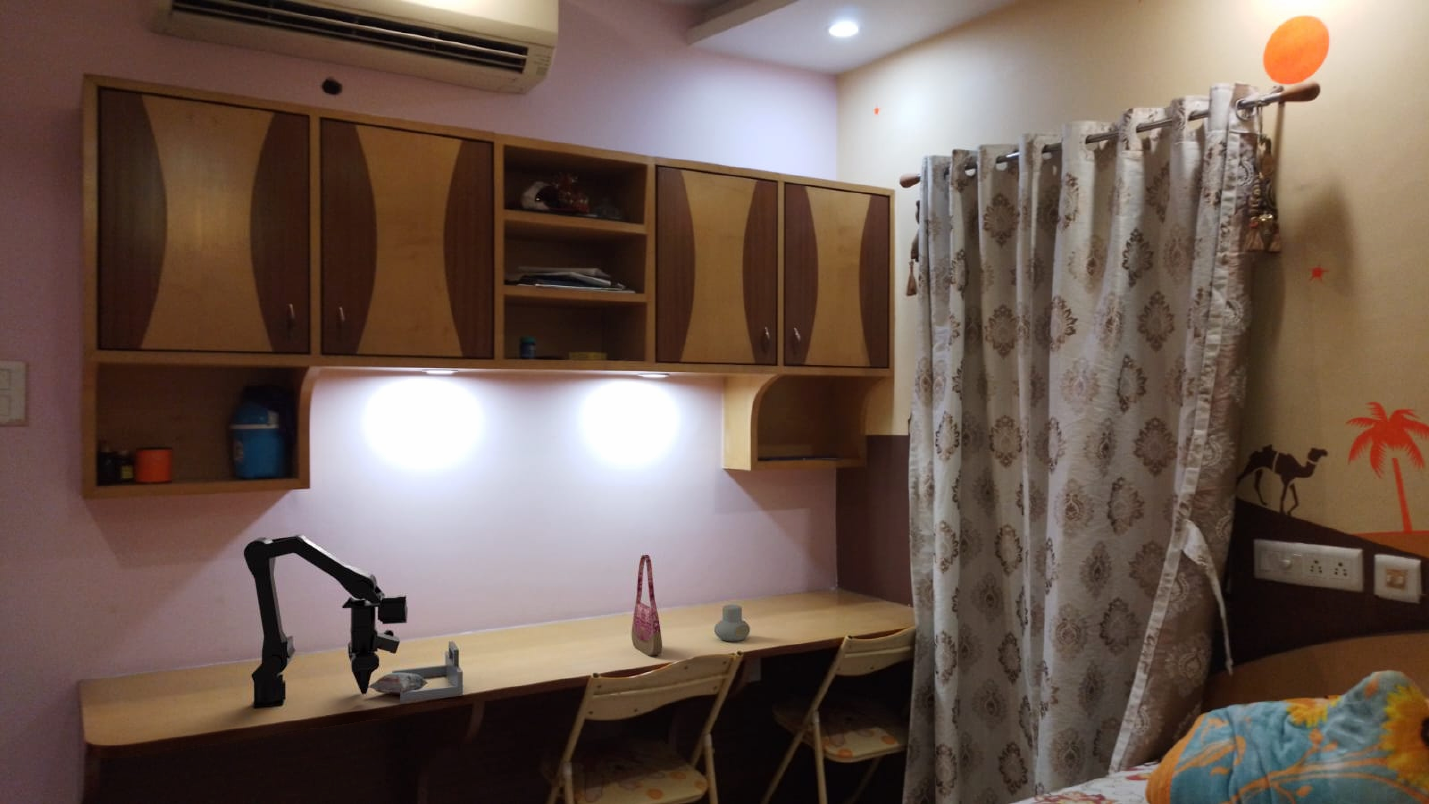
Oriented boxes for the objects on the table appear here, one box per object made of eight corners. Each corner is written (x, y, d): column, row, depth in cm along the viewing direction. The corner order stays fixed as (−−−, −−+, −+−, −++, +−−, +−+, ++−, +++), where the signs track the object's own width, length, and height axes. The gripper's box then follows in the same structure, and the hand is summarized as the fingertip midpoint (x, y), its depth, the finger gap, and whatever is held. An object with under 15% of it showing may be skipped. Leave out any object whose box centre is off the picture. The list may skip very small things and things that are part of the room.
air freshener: (734, 634, 298) (734, 602, 298) (754, 638, 292) (754, 606, 292) (709, 640, 290) (709, 607, 290) (729, 645, 284) (729, 611, 284)
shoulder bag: (630, 645, 284) (631, 551, 284) (640, 644, 285) (640, 550, 285) (653, 659, 269) (653, 559, 269) (662, 657, 270) (662, 559, 270)
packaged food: (404, 698, 229) (405, 676, 230) (366, 695, 233) (366, 674, 234) (428, 692, 237) (428, 671, 238) (390, 689, 241) (391, 669, 242)
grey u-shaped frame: (400, 703, 229) (400, 662, 229) (392, 680, 248) (392, 641, 248) (462, 696, 235) (462, 655, 235) (449, 673, 254) (449, 636, 254)
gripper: (401, 630, 228) (401, 695, 228) (394, 614, 245) (393, 675, 245) (351, 634, 224) (351, 701, 224) (347, 618, 241) (347, 680, 241)
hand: (362, 688), depth 234 cm, fingers open, 9 cm apart
